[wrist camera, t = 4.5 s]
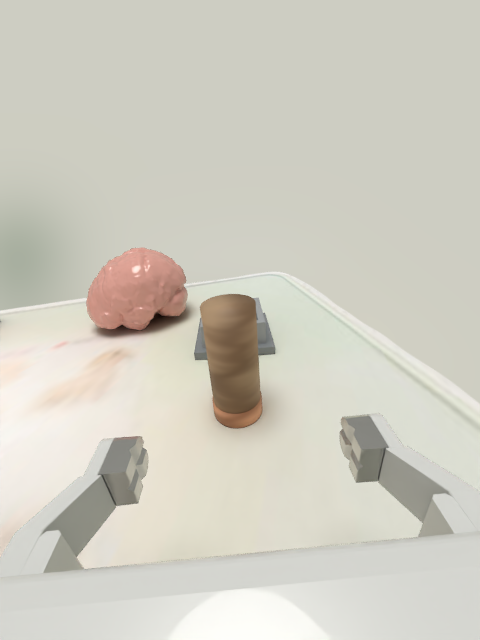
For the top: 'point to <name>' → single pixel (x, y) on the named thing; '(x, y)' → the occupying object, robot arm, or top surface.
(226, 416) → the brown rounded peg
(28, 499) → the top surface
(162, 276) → the brain
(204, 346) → the socket block
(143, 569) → the robot arm
